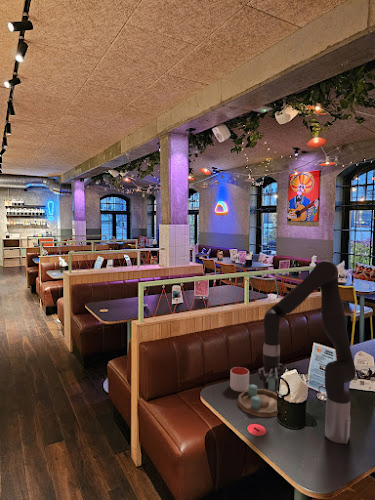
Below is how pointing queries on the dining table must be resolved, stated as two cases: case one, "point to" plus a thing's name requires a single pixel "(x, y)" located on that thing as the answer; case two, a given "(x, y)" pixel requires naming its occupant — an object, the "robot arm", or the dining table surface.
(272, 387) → the bead
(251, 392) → the bead
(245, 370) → the cup
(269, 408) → the tray
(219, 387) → the dining table surface
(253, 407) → the bead
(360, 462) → the dining table surface
